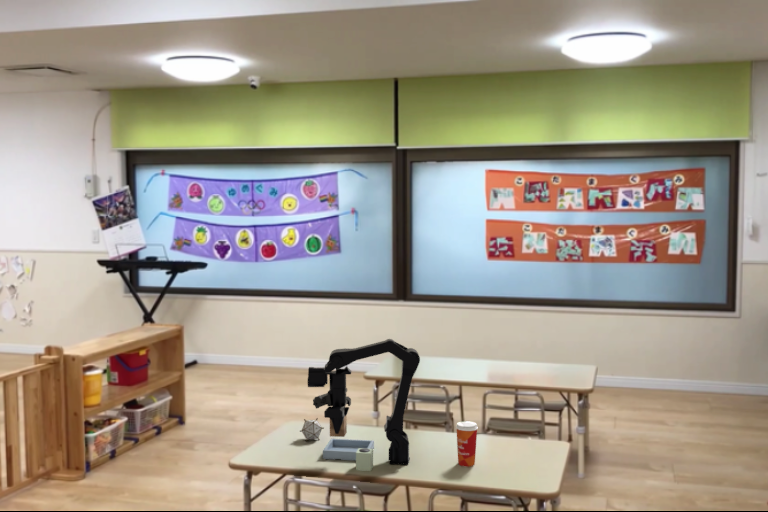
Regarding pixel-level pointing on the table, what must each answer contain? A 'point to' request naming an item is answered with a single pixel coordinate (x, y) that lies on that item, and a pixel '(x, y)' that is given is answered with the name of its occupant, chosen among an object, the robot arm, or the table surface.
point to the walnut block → (342, 430)
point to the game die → (311, 429)
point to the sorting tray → (345, 448)
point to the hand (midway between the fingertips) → (338, 431)
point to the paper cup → (466, 443)
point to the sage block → (364, 459)
